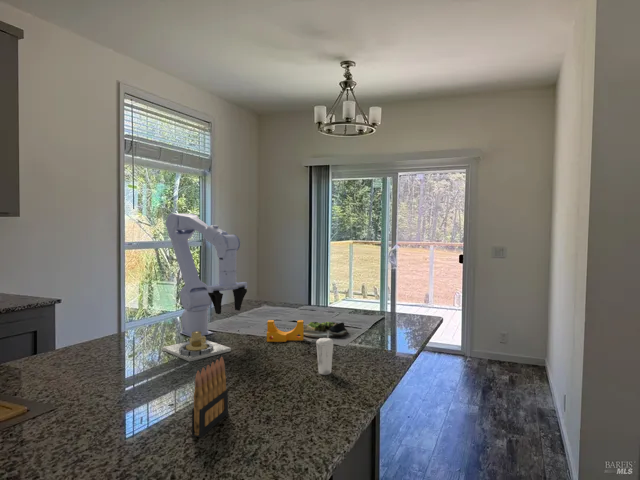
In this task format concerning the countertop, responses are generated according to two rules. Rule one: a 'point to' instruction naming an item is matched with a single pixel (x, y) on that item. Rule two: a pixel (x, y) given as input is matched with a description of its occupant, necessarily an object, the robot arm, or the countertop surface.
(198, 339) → the flanged cylinder knob
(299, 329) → the pipe clamp
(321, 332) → the salad plate
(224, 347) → the carrier
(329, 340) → the milkshake
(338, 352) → the countertop surface
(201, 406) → the ammunition clip
